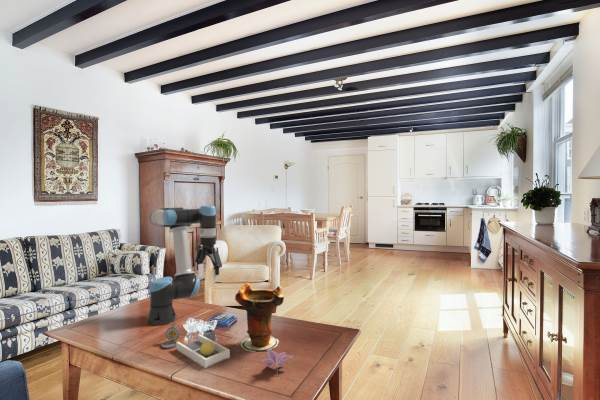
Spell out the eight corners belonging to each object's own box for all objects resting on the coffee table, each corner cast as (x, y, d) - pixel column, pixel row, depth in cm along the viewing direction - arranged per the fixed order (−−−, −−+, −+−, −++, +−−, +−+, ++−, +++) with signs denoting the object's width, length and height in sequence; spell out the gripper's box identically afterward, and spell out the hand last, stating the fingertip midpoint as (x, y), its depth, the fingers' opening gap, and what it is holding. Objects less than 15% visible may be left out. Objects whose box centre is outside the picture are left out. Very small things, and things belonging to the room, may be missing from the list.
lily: (297, 372, 135) (293, 347, 139) (286, 375, 125) (282, 347, 129) (270, 377, 138) (267, 352, 142) (257, 380, 128) (255, 353, 132)
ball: (197, 355, 146) (197, 342, 146) (209, 350, 150) (209, 337, 150) (205, 360, 142) (205, 346, 142) (217, 355, 146) (217, 341, 146)
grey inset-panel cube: (203, 340, 163) (203, 331, 162) (210, 337, 166) (210, 329, 165) (208, 342, 160) (208, 334, 160) (215, 339, 163) (215, 331, 163)
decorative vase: (286, 352, 149) (283, 290, 149) (235, 356, 148) (231, 293, 147) (285, 332, 170) (282, 278, 170) (240, 336, 169) (237, 281, 168)
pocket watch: (162, 350, 152) (162, 328, 152) (160, 343, 159) (160, 322, 159) (181, 346, 156) (181, 325, 155) (178, 339, 163) (178, 319, 163)
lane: (176, 349, 152) (176, 342, 152) (199, 341, 161) (199, 334, 161) (205, 368, 136) (205, 360, 136) (229, 357, 145) (229, 349, 145)
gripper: (188, 235, 172) (188, 276, 172) (215, 239, 155) (216, 285, 155) (201, 233, 177) (201, 273, 177) (229, 238, 160) (229, 282, 161)
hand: (208, 279), depth 166 cm, fingers open, 13 cm apart
